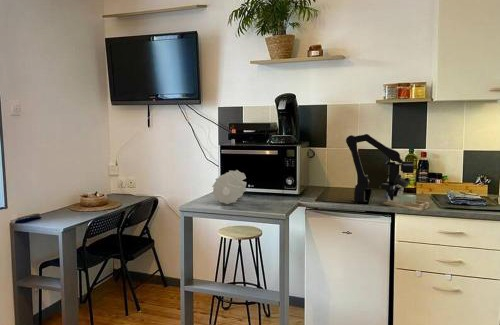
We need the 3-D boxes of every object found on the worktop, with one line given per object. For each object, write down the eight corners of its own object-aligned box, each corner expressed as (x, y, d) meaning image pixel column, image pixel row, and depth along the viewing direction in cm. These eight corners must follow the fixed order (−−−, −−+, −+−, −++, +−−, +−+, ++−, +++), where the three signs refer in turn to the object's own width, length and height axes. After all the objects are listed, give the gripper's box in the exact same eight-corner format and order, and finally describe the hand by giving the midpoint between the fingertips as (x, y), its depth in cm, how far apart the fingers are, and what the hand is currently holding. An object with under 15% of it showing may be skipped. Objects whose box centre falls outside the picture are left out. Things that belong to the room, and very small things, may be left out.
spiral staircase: (219, 211, 223) (228, 200, 247) (246, 199, 219) (252, 189, 243) (204, 183, 221) (215, 175, 246) (231, 170, 217) (239, 163, 242)
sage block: (411, 205, 211) (411, 196, 210) (386, 201, 222) (387, 192, 221) (415, 204, 214) (416, 195, 213) (391, 200, 225) (391, 191, 224)
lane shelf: (419, 210, 204) (420, 205, 203) (383, 204, 220) (383, 199, 219) (430, 207, 211) (430, 202, 211) (394, 201, 227) (394, 196, 227)
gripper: (398, 176, 208) (397, 204, 209) (415, 172, 219) (414, 199, 221) (379, 173, 216) (379, 201, 218) (397, 170, 228) (396, 196, 230)
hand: (393, 199), depth 221 cm, fingers closed on sage block, 2 cm apart
